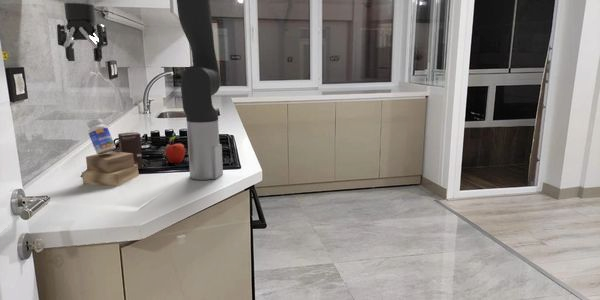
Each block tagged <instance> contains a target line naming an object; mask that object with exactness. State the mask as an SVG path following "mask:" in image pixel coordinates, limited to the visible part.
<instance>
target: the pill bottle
mask: <svg viewBox="0 0 600 300" xmlns="http://www.w3.org/2000/svg"><path fill="white" fill-rule="evenodd" d="M103 123H104V122H103V120H102V118H95V119H94V118H93V119H91V120H89V121H87V123H86V124H87V127H88V128H89V129H88V131H87V132H88V136H89V138H90V140H91V143H92V146H93V148H94V150H95V152H96V153H95V154H104V153H107V152H110V151H115V149H116V144H115V142H114V140H113V137H112V135H111V133H110V130H109V128H108V126H107V125H106V124H103Z"/></svg>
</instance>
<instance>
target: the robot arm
mask: <svg viewBox="0 0 600 300" xmlns="http://www.w3.org/2000/svg"><path fill="white" fill-rule="evenodd" d="M63 3H64V15H65V19H66V21H67V23H66V24H59V23H58V24H57V25H56V30H57V32H56V34H57V45H58V46H60V47H64V49H65V57H66V60H67V61H68V62H75V60H76V59H75V49H74V46H75V44H76V43H77V42H78V41H83V40H84V41H88V42H89V43H90V44H91V45H92V47H93V59H94V62H99V63H100V62H102V60H103V52H102V51H103V50H102V49H103V48H104V47H108V43H109V42H108V36H107V28H106V25H105V24H99V23H97V24H95V21H96V16H95V15H96V14H95V5H94V3H95V2H94V0H63ZM176 6H177V14H178V20H179V23H180V25H181V29H182V30H183V33H184V34H185V37H186V40H187V41H188V44H189V46H190V51H191V54H192V55H191V56H192V65H191V66H188V67H187V68H185V69H184V71H182V75H181V78H180V92H181V93H180V94H181V103H182V109H183V113H184V114H185V117H186V134H187V149H188V150H187V151H188V165H189V167H188V168H189V178H190V179H192V180H197V181H200V180H201V181H206V180H207V181H208V180H217V179H218V178H220V177H221V176H222V175H223V174H224V169H223V166H224V165H223V147H222V143H220V129H219V128H220V127H219V113H218V110H217V109H215V107H214V106H213V99H212V96H214V95H215V94H217V92H218V91H219V89H220V86H221V75H220V74H221V73H220V70H219V65H218V64H219V63H218V59H217V55H216V50H215V41H214V32H213V31H214V30H213V20H212V10H211V9H212V8H211V0H176ZM95 33H97V35H96V34H95Z"/></svg>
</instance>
